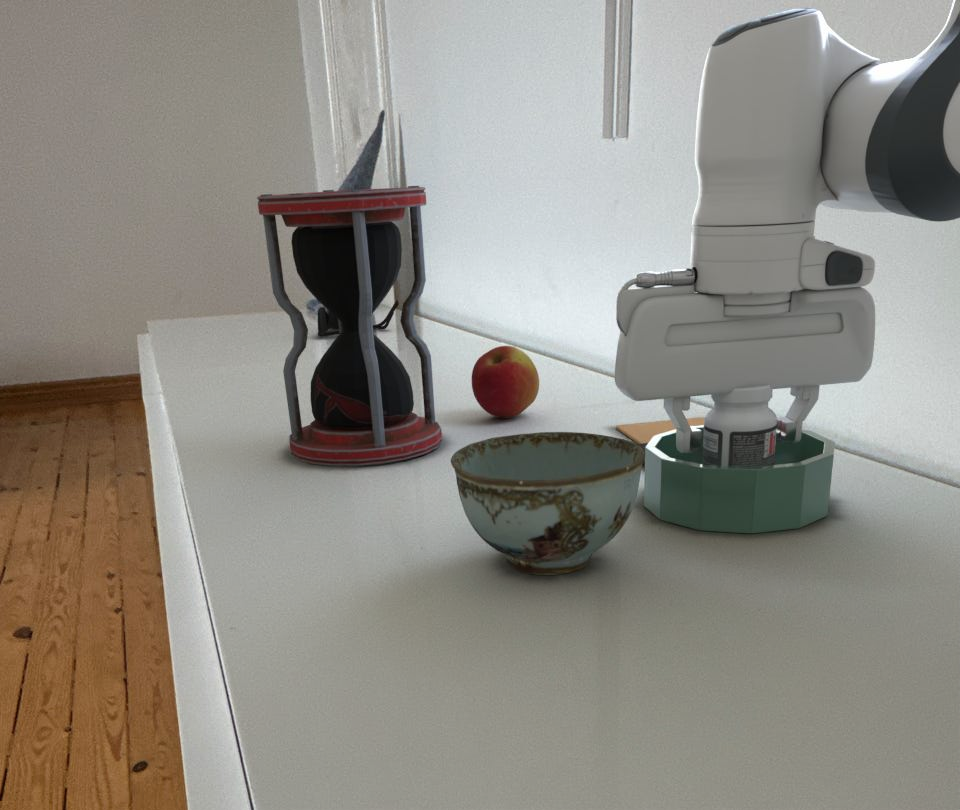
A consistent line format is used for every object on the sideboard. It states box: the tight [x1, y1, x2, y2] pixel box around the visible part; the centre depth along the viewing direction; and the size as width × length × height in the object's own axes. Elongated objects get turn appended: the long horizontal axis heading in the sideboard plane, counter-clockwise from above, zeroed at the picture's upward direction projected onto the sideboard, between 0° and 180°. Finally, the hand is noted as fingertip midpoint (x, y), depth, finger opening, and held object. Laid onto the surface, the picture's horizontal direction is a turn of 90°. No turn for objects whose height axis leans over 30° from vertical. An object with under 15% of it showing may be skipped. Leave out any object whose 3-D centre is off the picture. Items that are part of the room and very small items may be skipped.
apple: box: [471, 345, 540, 419], centre depth 114 cm, size 8×8×8 cm
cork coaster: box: [615, 417, 705, 444], centre depth 105 cm, size 10×10×1 cm
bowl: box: [450, 431, 646, 576], centre depth 71 cm, size 14×13×8 cm
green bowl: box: [643, 425, 836, 535], centre depth 82 cm, size 15×15×5 cm
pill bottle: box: [702, 385, 778, 467], centre depth 81 cm, size 6×6×10 cm
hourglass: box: [256, 185, 443, 467], centre depth 101 cm, size 16×16×25 cm
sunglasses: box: [317, 299, 400, 337], centre depth 186 cm, size 17×14×5 cm
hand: (738, 446), depth 81 cm, fingers open, 7 cm apart
